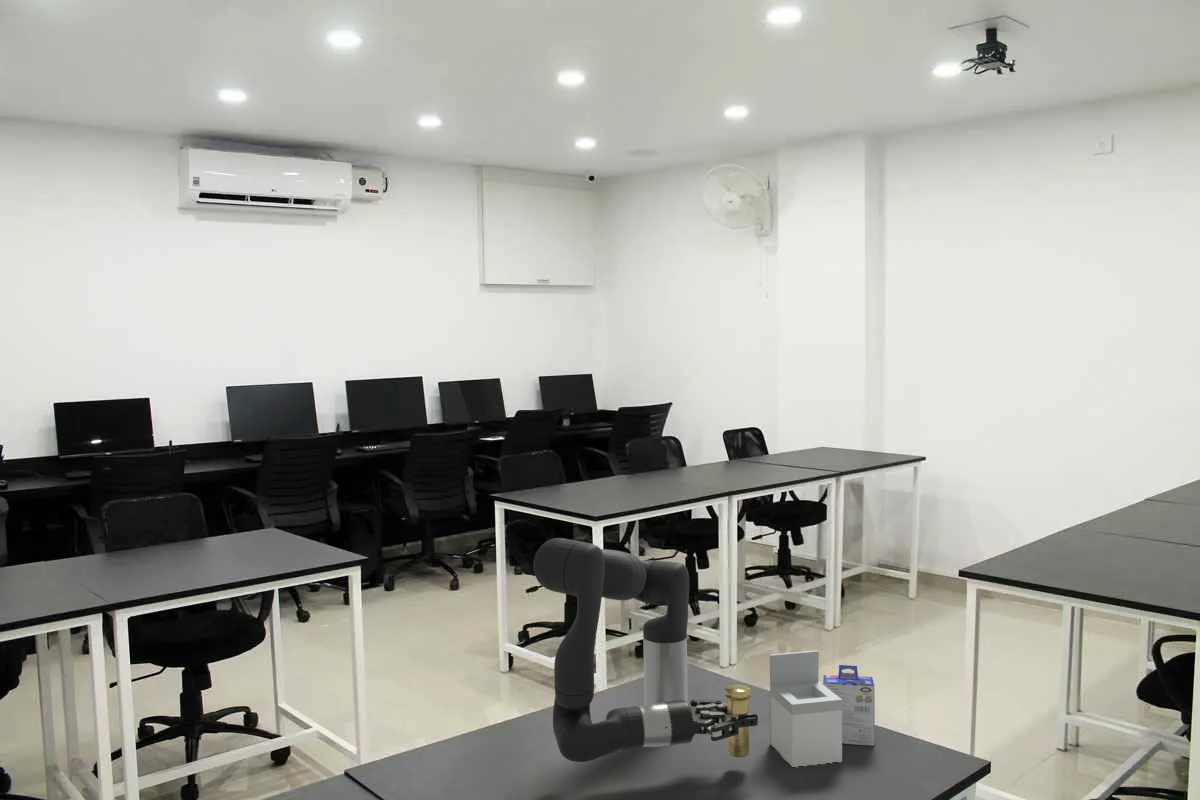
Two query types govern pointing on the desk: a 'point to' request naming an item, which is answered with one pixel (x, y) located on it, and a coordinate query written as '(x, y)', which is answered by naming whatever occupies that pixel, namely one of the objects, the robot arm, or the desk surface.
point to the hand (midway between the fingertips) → (751, 714)
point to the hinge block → (803, 711)
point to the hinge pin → (735, 706)
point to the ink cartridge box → (854, 705)
